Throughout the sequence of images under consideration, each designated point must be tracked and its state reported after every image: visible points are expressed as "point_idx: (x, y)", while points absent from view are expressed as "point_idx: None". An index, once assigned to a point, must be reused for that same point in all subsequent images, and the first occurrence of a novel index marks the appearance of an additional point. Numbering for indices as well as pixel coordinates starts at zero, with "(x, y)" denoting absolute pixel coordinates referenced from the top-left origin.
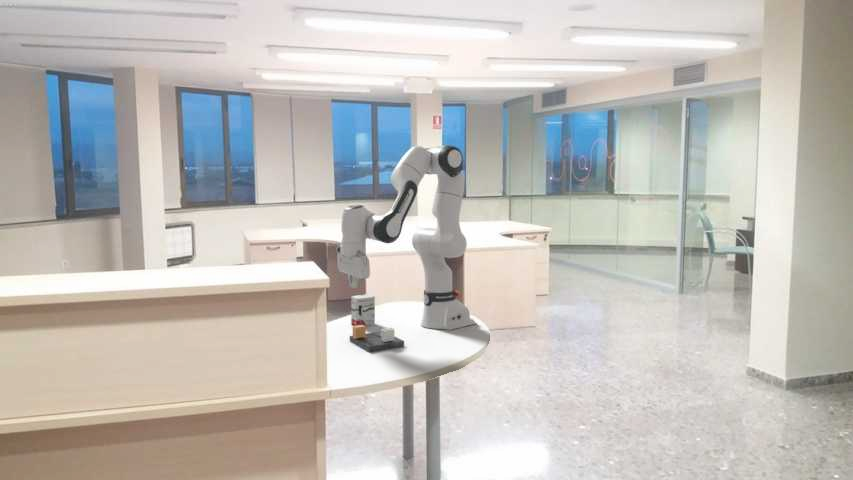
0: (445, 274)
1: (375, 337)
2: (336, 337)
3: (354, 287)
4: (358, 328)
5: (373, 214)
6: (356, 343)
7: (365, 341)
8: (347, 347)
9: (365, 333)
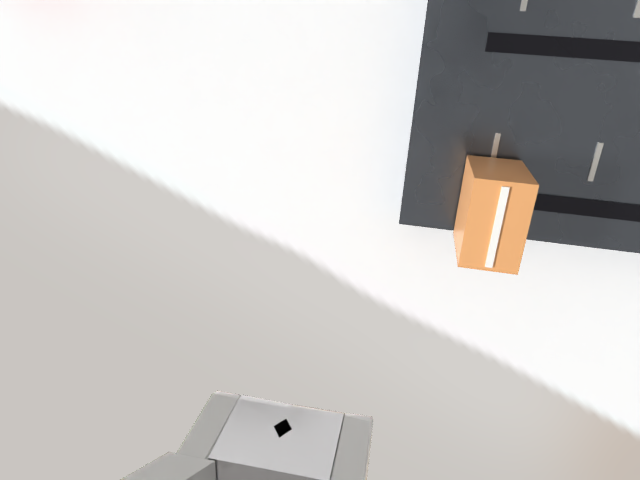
0: None
1: (567, 88)
2: (269, 226)
3: (368, 462)
4: (522, 245)
5: None
6: None
7: (612, 216)
8: (511, 288)
9: (526, 169)
